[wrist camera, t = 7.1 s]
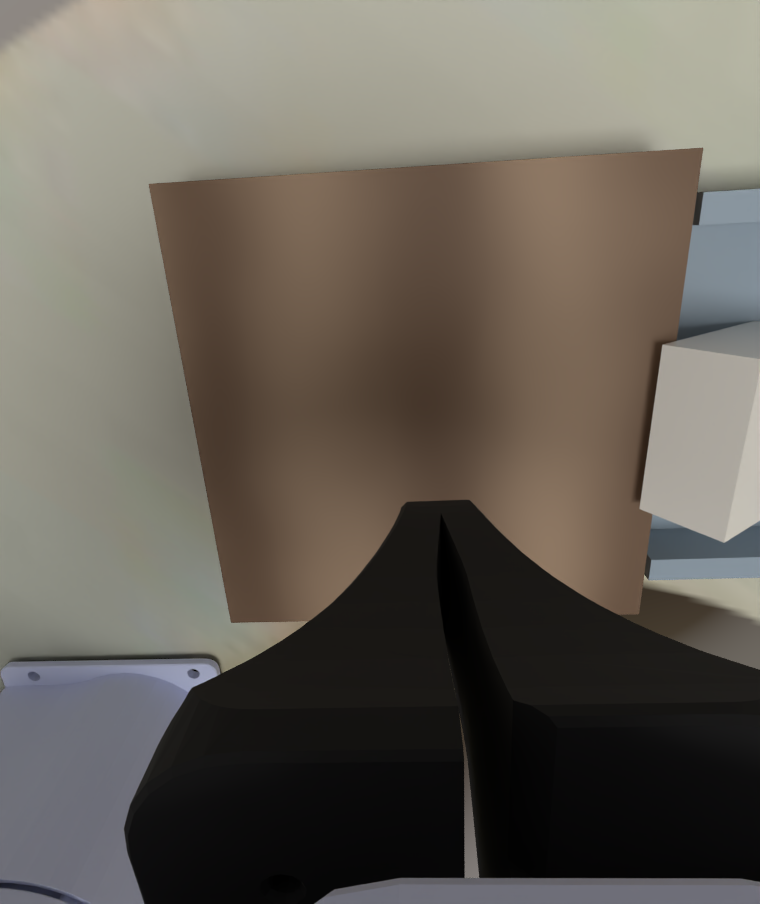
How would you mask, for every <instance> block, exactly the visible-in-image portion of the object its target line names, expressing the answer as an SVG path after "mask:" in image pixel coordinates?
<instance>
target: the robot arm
mask: <svg viewBox="0 0 760 904" xmlns="http://www.w3.org/2000/svg"><path fill="white" fill-rule="evenodd" d="M448 659H449V660H448ZM449 664H450V665H449ZM192 669H196V670H197V671H198V672H196V671H193V670H192ZM450 669H451V670H450ZM37 673H38V674H37ZM451 674H452V675H451ZM1 677H2V680H3V682H4V685H5V688H4V689H3V690H2V692H1V693H0V904H760V670H758V669H755V668H752V667H749V666H746V665H743V664H740V663H737V662H733V661H730V660H727V659H724V658H721V657H718V656H715V655H712V654H709V653H706V652H703V651H700V650H698V649H695V648H692V647H690V646H687V645H685V644H682V643H680V642H678V641H675V640H672V639H670V638H668V637H665V636H662V635H660V634H658V633H655V632H653V631H651V630H649V629H646V628H644V627H642V626H640V625H638V624H635V623H633V622H631V621H629V620H627V619H625V618H623V617H621V616H620V615H618V614H616V613H614V612H612V611H610V610H608V609H606V608H604V607H602V606H600V605H598V604H597V603H595V602H593V601H591V600H590V599H588V598H586V597H584V596H583V595H581V594H580V593H578V592H576V591H575V590H573V589H572V588H570V587H569V586H567V585H566V584H564V583H562V582H561V581H559V580H558V579H556V578H555V577H553V576H552V575H551V574H549V573H548V572H546V571H545V570H544V569H542V568H541V567H540V566H539V565H537V564H536V563H535V562H534V561H532V560H531V559H530V558H529V557H527V556H526V555H525V554H524V553H522V552H521V551H520V550H519V549H518V548H517V547H516V546H515V545H514V544H513V543H511V542H510V541H509V540H508V539H507V538H506V537H505V536H504V535H503V534H502V533H501V532H500V531H499V530H498V529H497V528H496V527H495V526H494V525H493V524H492V523H491V522H490V521H489V520H488V519H487V518H486V516H485V515H484V514H483V513H482V512H481V511H480V510H479V509H478V508H477V507H476V506H475V505H474V504H473V503H472V502H471V501H470V500H442V501H414V502H406V503H405V504H404V505H403V506H402V507H401V510H400V513H399V515H398V517H397V519H396V521H395V523H394V525H393V527H392V529H391V530H390V532H389V534H388V535H387V537H386V538H385V540H384V541H383V543H382V544H381V546H380V547H379V549H378V550H377V552H376V553H375V555H374V556H373V557H372V559H371V560H370V561H369V562H368V564H367V565H366V566H365V567H364V569H363V570H362V571H361V573H360V574H359V575H358V576H357V577H356V578H355V580H354V581H353V582H352V583H351V584H350V585H349V586H348V587H347V588H346V589H345V590H344V591H343V592H342V593H341V594H340V595H339V596H338V597H337V598H336V599H335V600H334V601H333V602H332V603H331V604H330V605H329V606H328V607H327V608H325V609H324V610H323V611H321V612H320V613H319V614H318V615H316V616H315V617H314V618H313V619H311V620H310V621H309V622H308V623H306V624H305V625H304V626H302V627H301V628H300V629H298V630H297V631H295V632H294V633H292V634H291V635H289V636H288V637H286V638H285V639H283V640H282V641H280V642H279V643H277V644H276V645H274V646H272V647H271V648H269V649H267V650H266V651H264V652H262V653H261V654H259V655H257V656H255V657H253V658H252V659H250V660H248V661H246V662H244V663H242V664H240V665H238V666H236V667H234V668H232V669H230V670H228V671H226V672H224V673H222V674H220V669H219V666H218V664H217V663H216V662H215V661H213V660H211V659H206V658H200V659H143V660H86V661H30V662H9V663H8V664H6V665H5V667H4V668H3V669H2V670H1ZM452 679H453V680H452ZM453 684H454V685H453ZM454 689H455V690H454ZM459 713H460V718H461V723H462V728H463V733H464V740H465V745H466V752H467V758H468V768H469V778H470V788H471V797H472V807H473V817H474V827H475V837H476V848H477V858H478V868H479V878H464V755H463V744H462V735H461V727H460V718H459Z"/></svg>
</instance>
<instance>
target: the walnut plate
mask: <svg viewBox="0 0 760 904" xmlns="http://www.w3.org/2000/svg"><path fill="white" fill-rule="evenodd" d="M702 153H703V148H692V149H677V150H662V151H647V152H631V153H616V154H601V155H585V156H570V157H555V158H539V159H524V160H509V161H494V162H478V163H463V164H448V165H432V166H417V167H402V168H386V169H371V170H356V171H340V172H325V173H310V174H295V175H279V176H264V177H249V178H233V179H218V180H203V181H187V182H172V183H157V184H149V188H150V193H151V199H152V204H153V209H154V215H155V220H156V225H157V231H158V236H159V241H160V247H161V252H162V257H163V263H164V268H165V273H166V279H167V284H168V289H169V295H170V300H171V305H172V310H173V316H174V321H175V326H176V332H177V337H178V342H179V348H180V353H181V358H182V364H183V369H184V374H185V380H186V385H187V390H188V396H189V401H190V406H191V412H192V417H193V422H194V428H195V433H196V438H197V444H198V449H199V454H200V460H201V465H202V470H203V475H204V481H205V486H206V491H207V497H208V502H209V507H210V513H211V518H212V523H213V529H214V534H215V539H216V545H217V550H218V555H219V561H220V566H221V571H222V577H223V582H224V587H225V593H226V598H227V603H228V609H229V614H230V619H231V623H240V622H287V621H310V620H311V619H313V618H314V617H315V616H316V615H318V614H319V613H320V612H321V611H323V610H324V609H325V608H327V607H328V606H329V605H330V604H331V603H332V602H333V601H334V600H335V599H336V598H337V597H338V596H339V595H340V594H341V593H342V592H343V591H344V590H345V589H346V588H347V587H348V586H349V585H350V584H351V583H352V582H353V581H354V580H355V578H356V577H357V576H358V575H359V574H360V573H361V571H362V570H363V569H364V567H365V566H366V565H367V564H368V562H369V561H370V560H371V559H372V557H373V556H374V555H375V553H376V552H377V550H378V549H379V547H380V546H381V544H382V543H383V541H384V540H385V538H386V537H387V535H388V534H389V532H390V530H391V529H392V527H393V525H394V523H395V521H396V519H397V517H398V515H399V513H400V510H401V507H402V506H403V505H404V504H405V503H406V502H414V501H442V500H470V501H471V502H472V503H473V504H474V505H475V506H476V507H477V508H478V509H479V510H480V511H481V512H482V513H483V514H484V515H485V516H486V518H487V519H488V520H489V521H490V522H491V523H492V524H493V525H494V526H495V527H496V528H497V529H498V530H499V531H500V532H501V533H502V534H503V535H504V536H505V537H506V538H507V539H508V540H509V541H510V542H511V543H513V544H514V545H515V546H516V547H517V548H518V549H519V550H520V551H521V552H522V553H524V554H525V555H526V556H527V557H529V558H530V559H531V560H532V561H534V562H535V563H536V564H537V565H539V566H540V567H541V568H542V569H544V570H545V571H546V572H548V573H549V574H551V575H552V576H553V577H555V578H556V579H558V580H559V581H561V582H562V583H564V584H566V585H567V586H569V587H570V588H572V589H573V590H575V591H576V592H578V593H580V594H581V595H583V596H584V597H586V598H588V599H590V600H591V601H593V602H595V603H597V604H598V605H600V606H602V607H604V608H606V609H608V610H610V611H612V612H614V613H616V614H639V609H640V601H641V594H642V587H643V580H644V573H645V565H646V558H647V551H648V544H649V536H650V529H651V522H652V515H653V514H651V513H648V512H646V511H643V510H641V509H639V508H640V501H641V494H642V487H643V480H644V473H645V466H646V458H647V451H648V444H649V437H650V430H651V423H652V416H653V409H654V401H655V394H656V387H657V380H658V373H659V366H660V359H661V352H662V345H663V344H667V343H671V342H674V341H677V334H678V326H679V319H680V312H681V305H682V298H683V290H684V283H685V276H686V269H687V261H688V254H689V247H690V240H691V232H692V225H693V218H694V211H695V203H696V196H697V189H698V182H699V174H700V167H701V160H702Z"/></svg>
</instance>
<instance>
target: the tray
mask: <svg viewBox="0 0 760 904" xmlns="http://www.w3.org/2000/svg"><path fill="white" fill-rule="evenodd" d="M752 321H760V189H748V190H731V191H715V192H700V193H697V196H696V203H695V211H694V218H693V225H692V232H691V240H690V247H689V254H688V261H687V269H686V276H685V283H684V290H683V298H682V305H681V312H680V319H679V326H678V334H677V341H678V340H682V339H686V338H690V337H694V336H698V335H702V334H705V333H709V332H713V331H717V330H721V329H725V328H729V327H733V326H736V325H740V324H744V323H748V322H752ZM644 574H645V576H646V577H647V579H648V580H677V579H718V578H759V577H760V521H759V522H757V523H755V524H754V525H752V526H750V527H749V528H747V529H746V530H744V531H742V532H741V533H739V534H738V535H736V536H734V537H733V538H731V539H730V540H728V541H726V542H725V543H723V542H721V541H718V540H716V539H713V538H711V537H708V536H706V535H703V534H701V533H698V532H696V531H693V530H691V529H688V528H686V527H683V526H681V525H678V524H676V523H673V522H671V521H668V520H666V519H663V518H661V517H658V516H656V515H652V522H651V529H650V536H649V544H648V551H647V558H646V565H645V573H644Z"/></svg>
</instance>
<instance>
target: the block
mask: <svg viewBox="0 0 760 904" xmlns="http://www.w3.org/2000/svg"><path fill="white" fill-rule="evenodd" d="M639 509H641V510H643V511H646V512H648V513H651V514H653V515H656V516H658V517H661V518H663V519H666V520H668V521H671V522H673V523H676V524H678V525H681V526H683V527H686V528H688V529H691V530H693V531H696V532H698V533H701V534H703V535H706V536H708V537H711V538H713V539H716V540H718V541H721V542H723V543H725V542H726V541H728V540H730V539H731V538H733V537H734V536H736V535H738V534H739V533H741V532H742V531H744V530H746V529H747V528H749V527H750V526H752V525H754V524H755V523H757V522H759V521H760V321H752V322H748V323H744V324H740V325H736V326H733V327H729V328H725V329H721V330H717V331H713V332H709V333H705V334H702V335H698V336H694V337H690V338H686V339H682V340H678V341H674V342H671V343H667V344H663V345H662V352H661V359H660V366H659V373H658V380H657V387H656V394H655V401H654V409H653V416H652V423H651V430H650V437H649V444H648V451H647V458H646V466H645V473H644V480H643V487H642V494H641V501H640V508H639Z"/></svg>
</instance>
